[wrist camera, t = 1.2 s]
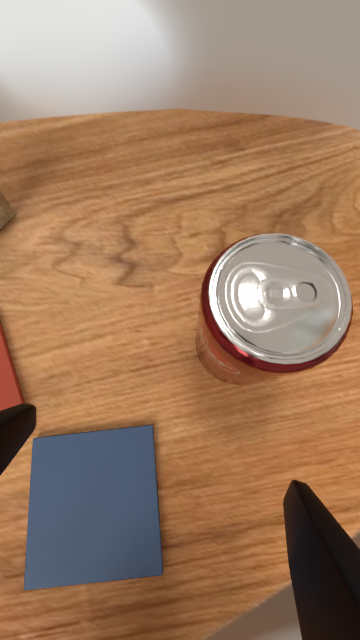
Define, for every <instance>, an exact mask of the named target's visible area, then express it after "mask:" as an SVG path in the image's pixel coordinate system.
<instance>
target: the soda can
mask: <svg viewBox="0 0 360 640" xmlns="http://www.w3.org/2000/svg"><path fill="white" fill-rule="evenodd" d="M352 315H353V305H352V296H351V292H350V289H349V285H348V282H347V280H346V278H345V276H344V274H343V272H342V270H341V269H340V267H339V266H338V265H337V264H336V262H335V261H334V260H333V259H332V258H331V257H330V256H329V255H328V254H327V253H326V252H325V251H324V250H322V249H321V248H319V247H317V246H316V245H314V244H313V243H311V242H309V241H306V240H304V239H302V238H299V237H295V236H291V235H287V234H276V233H270V234H257V235H254V236H250V237H246V238H243V239H241V240H239V241H237V242H234V243H233V244H231V245H230V246H228V247H227V248H226V249H224V250H223V251H222V252H221V253H220V254H219V255H218V256H217V257H216V258H215V259H214V260H213V261H212V263H211V265H210V266H209V268H208V269H207V271H206V274H205V277H204V279H203V282H202V288H201V297H200V306H199V315H198V325H197V334H196V351H197V354H198V358H199V360H200V361H201V363H202V365H203V366H204V368H205V369H206V370H207V372H209V373H210V374H211V375H212V376H213V377H215V378H216V379H218V380H220V381H222V382H225V383H228V384H232V385H247V384H251V383H255V382H260V381H264V380H268V379H272V378H276V377H280V376H284V375H289V374H293V373H297V372H300V371H304V370H307V369H311V368H313V367H315V366H317V365H319V364H321V363H323V362H325V361H326V360H327V359H328V358H329V357H331V356H332V355H333V354H334V353H335V352H336V351H337V350H338V349H339V347H340V346H341V344H342V343H343V342H344V340H345V338H346V336H347V333H348V331H349V328H350V326H351V321H352Z"/></svg>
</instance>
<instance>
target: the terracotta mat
mask: <svg viewBox="0 0 360 640" xmlns="http://www.w3.org/2000/svg"><path fill="white" fill-rule="evenodd" d="M22 403H25V402H24V398H23V395H22V392H21V388H20V385H19V382H18V379H17V375H16V372H15V369H14V365H13V362H12V359H11V356H10V352H9V349H8V346H7V342H6V339H5V336H4V333H3V329H2V326H1V323H0V411H1V410H4V409H7V408H10V407H13V406H16V405H19V404H22Z"/></svg>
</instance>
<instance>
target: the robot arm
mask: <svg viewBox="0 0 360 640" xmlns="http://www.w3.org/2000/svg"><path fill="white" fill-rule="evenodd" d="M35 426H36V407H35V406H34V405H31V404H28V403H22V404H19V405H16V406H13V407H10V408H7V409H4V410H1V411H0V475H1V474H2V473H3V471H4V470H5V469H6V468H7V466H8V465H9V464H10V462H11V461H12V459H13V458H14V457H15V455H16V454H17V453H18V451H19V450H20V449H21V447H22V446H23V444H24V443H25V442H26V440H27V439H28V438H29V436H30V435H31V434H32V432H33V431H34V429H35ZM283 507H284V519H285V530H286V541H287V552H288V562H289V569H290V575H291V580H292V586H293V591H294V597H295V602H296V607H297V613H298V619H299V625H300V630H301V635H302V640H360V549H359V548H358V547H357V545H356V544H355V543H354V542H353V540H352V539H351V538H350V537H349V535H348V534H347V533H346V532H345V530H344V529H343V528H342V527H341V525H340V524H339V523H338V522H337V521H336V519H335V518H334V517H333V516H332V514H331V513H330V512H329V511H328V509H327V508H326V507H325V506H324V504H323V503H322V502H321V501H320V499H319V498H318V497H317V496H316V495H315V493H314V492H313V491H312V490H311V488H310V487H309V486H308V485H307V484H306V483H304V482H300V481H297V480H292V481H291V483H290V485H289V488H288V490H287V492H286V495H285V497H284V502H283Z"/></svg>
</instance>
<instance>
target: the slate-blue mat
mask: <svg viewBox="0 0 360 640" xmlns="http://www.w3.org/2000/svg"><path fill="white" fill-rule="evenodd" d="M160 575H163V560H162V545H161V531H160V516H159V502H158V487H157V473H156V458H155V444H154V429H153V425H145V426H136V427H127V428H118V429H109V430H100V431H91V432H82V433H72V434H63V435H54V436H45V437H36V438H33V448H32V464H31V480H30V497H29V513H28V530H27V546H26V562H25V579H24V590H31V589H41V588H50V587H59V586H68V585H77V584H86V583H96V582H105V581H114V580H123V579H132V578H142V577H151V576H160Z"/></svg>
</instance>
